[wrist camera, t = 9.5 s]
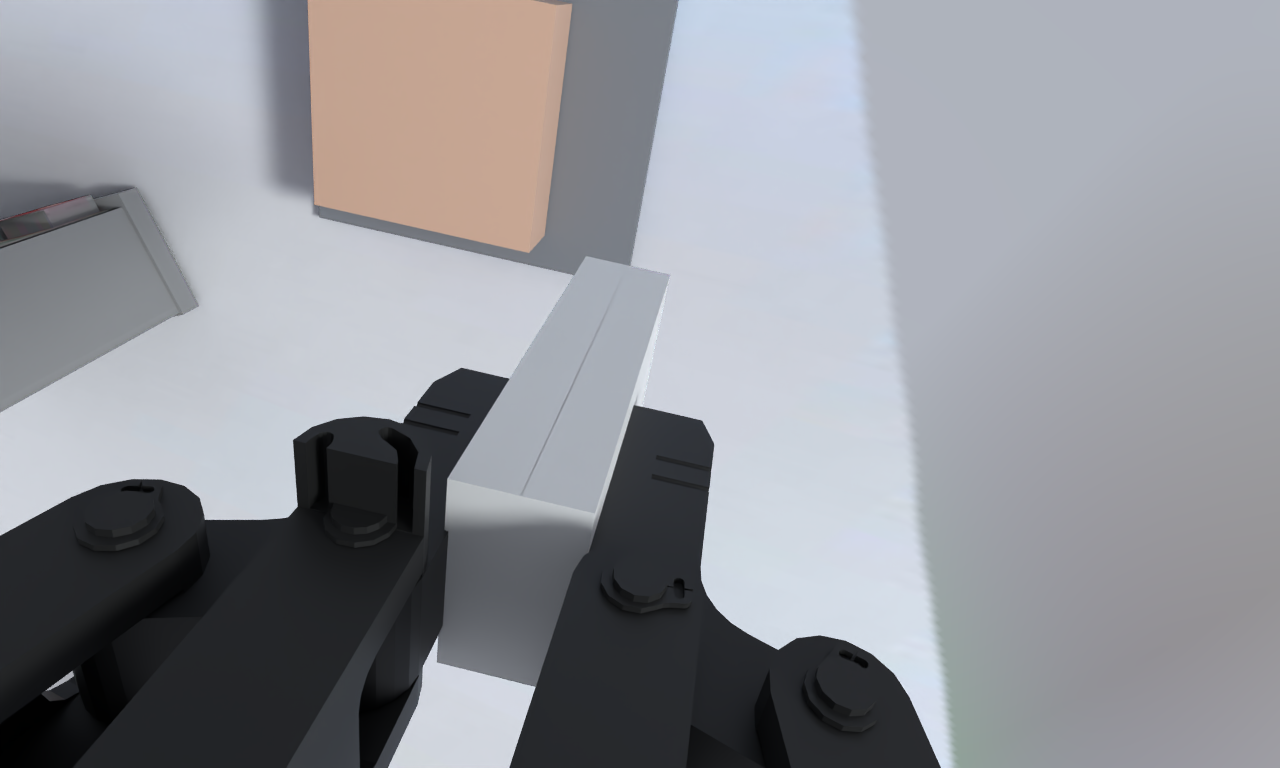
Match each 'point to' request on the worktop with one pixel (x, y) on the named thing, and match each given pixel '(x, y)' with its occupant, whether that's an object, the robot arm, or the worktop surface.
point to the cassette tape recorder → (80, 287)
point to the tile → (438, 112)
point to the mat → (589, 139)
